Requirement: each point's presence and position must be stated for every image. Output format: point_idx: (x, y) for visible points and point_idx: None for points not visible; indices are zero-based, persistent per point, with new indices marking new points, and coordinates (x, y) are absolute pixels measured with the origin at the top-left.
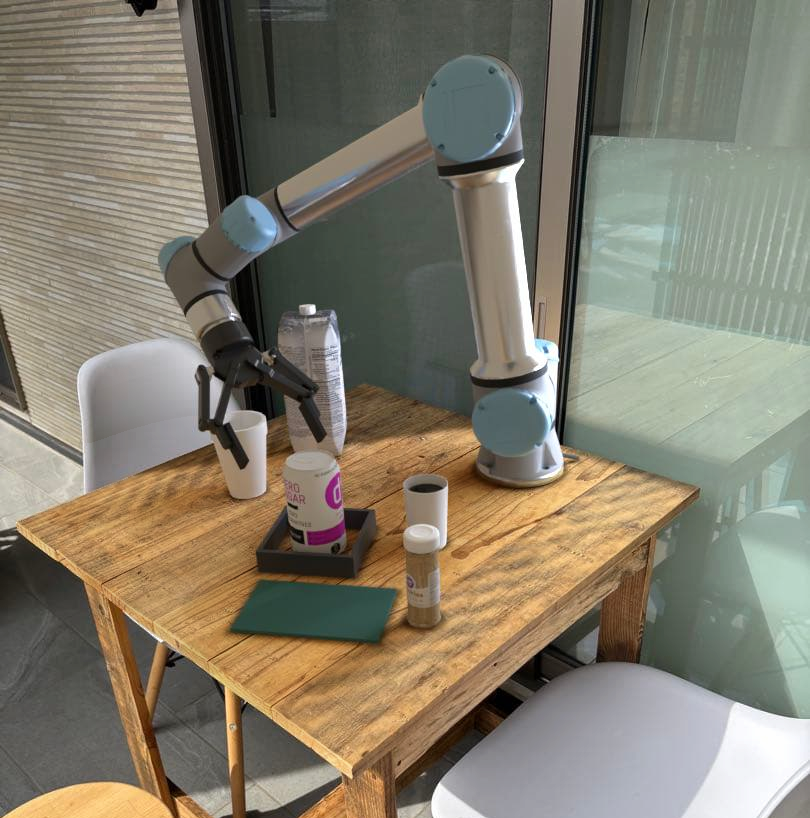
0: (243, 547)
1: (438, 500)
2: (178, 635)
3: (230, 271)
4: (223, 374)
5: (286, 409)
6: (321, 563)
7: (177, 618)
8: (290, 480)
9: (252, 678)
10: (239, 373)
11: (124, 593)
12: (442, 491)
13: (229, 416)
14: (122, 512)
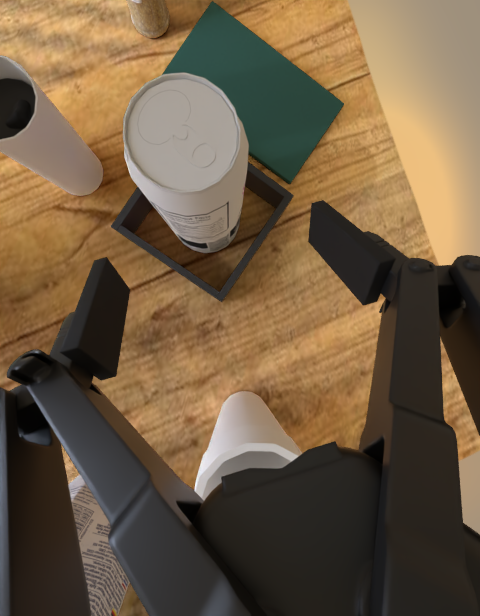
0: (286, 271)
1: (3, 75)
2: (389, 130)
3: None
4: (475, 532)
5: (127, 582)
6: None
7: (384, 161)
8: (242, 124)
9: (341, 21)
10: (354, 525)
11: (423, 237)
12: None
13: None
14: None
